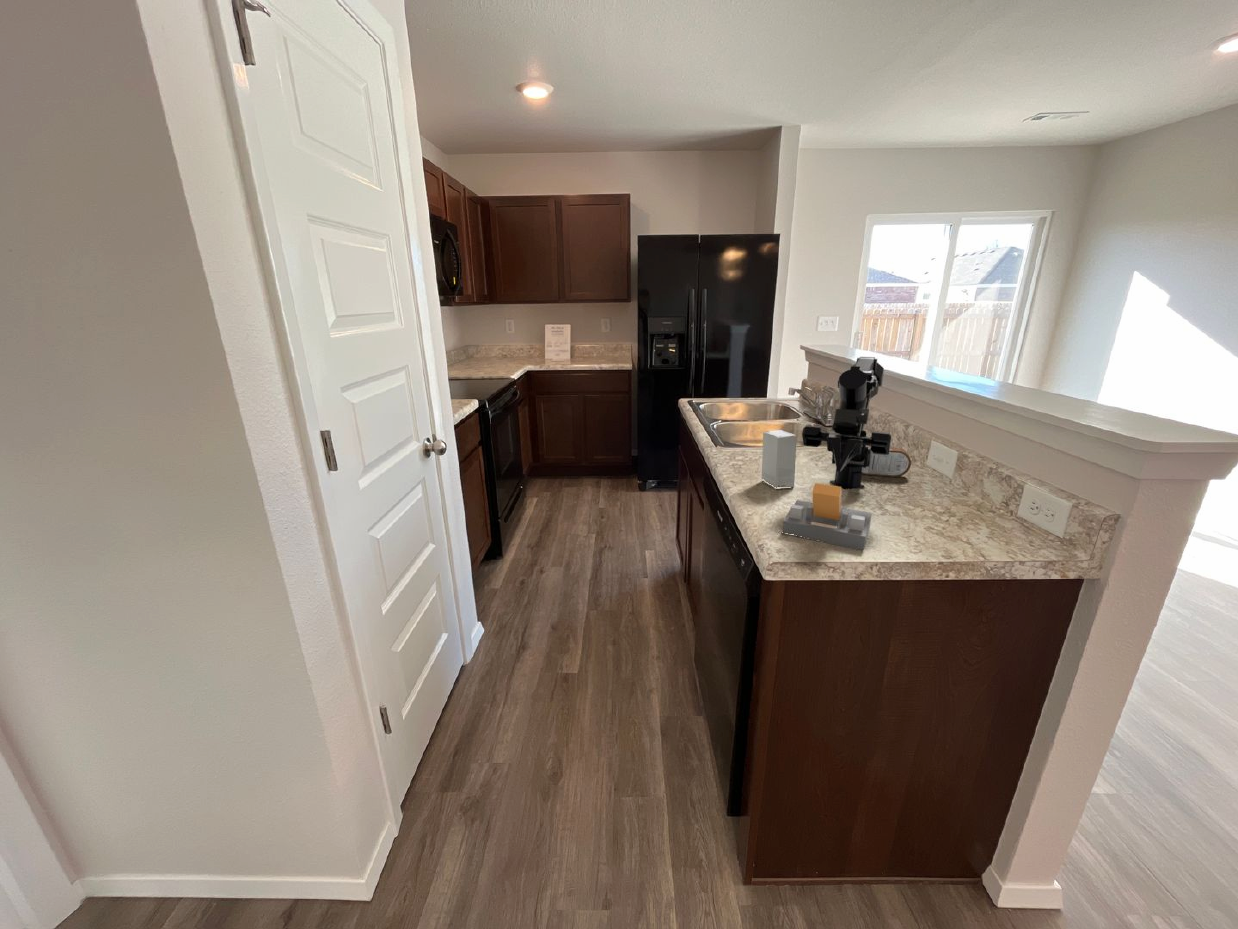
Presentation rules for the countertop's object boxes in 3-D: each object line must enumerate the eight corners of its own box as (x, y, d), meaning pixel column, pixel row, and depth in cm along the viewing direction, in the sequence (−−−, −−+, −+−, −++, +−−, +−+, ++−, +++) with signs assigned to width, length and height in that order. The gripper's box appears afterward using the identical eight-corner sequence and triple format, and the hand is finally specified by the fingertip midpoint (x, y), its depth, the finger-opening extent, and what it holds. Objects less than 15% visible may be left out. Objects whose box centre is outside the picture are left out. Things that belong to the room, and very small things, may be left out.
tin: (907, 475, 140) (912, 447, 138) (909, 479, 137) (914, 450, 135) (850, 471, 145) (854, 444, 143) (851, 474, 142) (855, 447, 140)
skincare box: (794, 488, 131) (799, 435, 127) (774, 490, 130) (778, 437, 126) (778, 479, 139) (782, 428, 135) (759, 480, 138) (762, 430, 134)
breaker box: (795, 511, 116) (798, 490, 114) (870, 525, 108) (873, 502, 106) (781, 533, 105) (783, 510, 103) (863, 550, 97) (867, 525, 95)
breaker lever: (816, 508, 106) (814, 482, 99) (841, 513, 103) (841, 486, 96) (814, 517, 105) (812, 492, 97) (839, 522, 102) (839, 496, 95)
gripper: (807, 391, 114) (792, 448, 109) (897, 397, 105) (886, 459, 99) (810, 418, 123) (797, 471, 118) (894, 425, 114) (883, 483, 108)
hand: (838, 470), depth 110 cm, fingers closed
